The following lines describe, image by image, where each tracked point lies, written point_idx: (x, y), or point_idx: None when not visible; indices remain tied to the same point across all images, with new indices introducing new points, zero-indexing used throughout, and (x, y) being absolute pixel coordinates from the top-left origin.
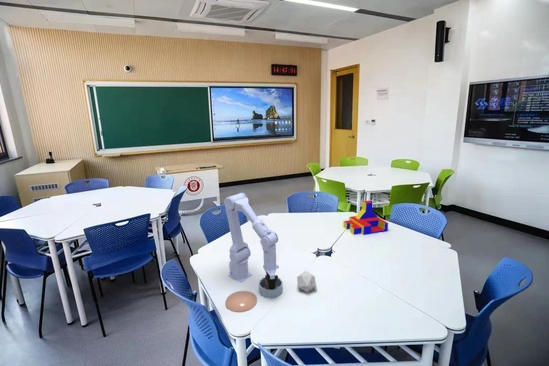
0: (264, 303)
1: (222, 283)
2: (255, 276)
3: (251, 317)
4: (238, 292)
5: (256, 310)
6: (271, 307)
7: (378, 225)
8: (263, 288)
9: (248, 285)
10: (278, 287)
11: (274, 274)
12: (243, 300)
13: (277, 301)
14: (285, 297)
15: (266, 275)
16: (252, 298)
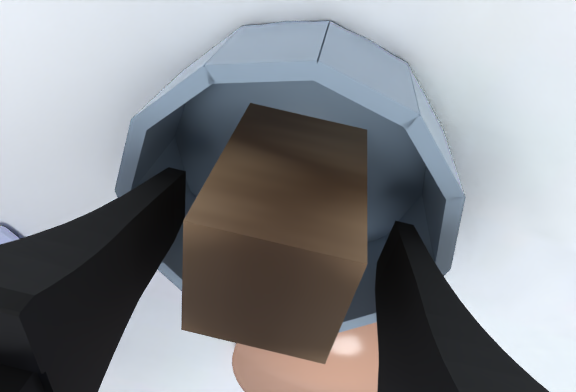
0: (458, 273)
1: (111, 381)
2: (20, 203)
3: (548, 380)
4: (246, 369)
5: (500, 339)
6: (558, 248)
7: None
8: (358, 323)
9: (157, 286)
10: (441, 183)
11: (190, 223)
12: (352, 376)
13: (515, 168)
14: (514, 51)
15: (193, 321)
16: (360, 334)
